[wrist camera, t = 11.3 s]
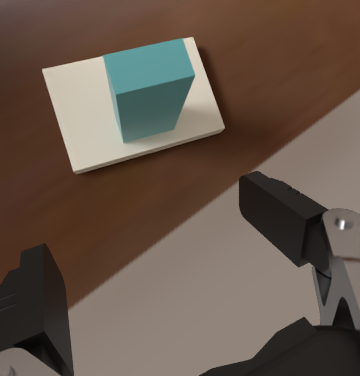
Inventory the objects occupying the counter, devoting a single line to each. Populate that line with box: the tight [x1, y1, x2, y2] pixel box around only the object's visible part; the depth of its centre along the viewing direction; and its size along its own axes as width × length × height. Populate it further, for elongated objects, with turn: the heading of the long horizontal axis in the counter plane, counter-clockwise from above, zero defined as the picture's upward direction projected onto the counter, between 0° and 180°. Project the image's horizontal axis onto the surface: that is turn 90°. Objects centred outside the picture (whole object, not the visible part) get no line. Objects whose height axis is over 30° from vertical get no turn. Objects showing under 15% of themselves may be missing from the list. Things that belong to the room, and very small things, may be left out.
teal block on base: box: [42, 37, 225, 174], centre depth 18 cm, size 12×8×9 cm, turn 109°
